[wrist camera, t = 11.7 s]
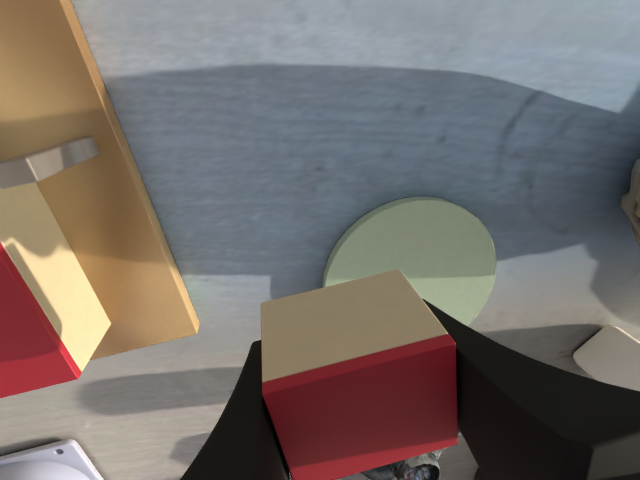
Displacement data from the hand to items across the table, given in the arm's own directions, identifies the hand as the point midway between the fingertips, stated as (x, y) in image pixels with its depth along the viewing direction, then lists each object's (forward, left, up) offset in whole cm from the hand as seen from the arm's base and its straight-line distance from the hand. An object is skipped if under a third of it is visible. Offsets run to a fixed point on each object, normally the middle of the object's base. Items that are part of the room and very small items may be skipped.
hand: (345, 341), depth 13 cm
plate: (+5, -4, -8) cm, 11 cm away
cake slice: (0, 0, -1) cm, 1 cm away
